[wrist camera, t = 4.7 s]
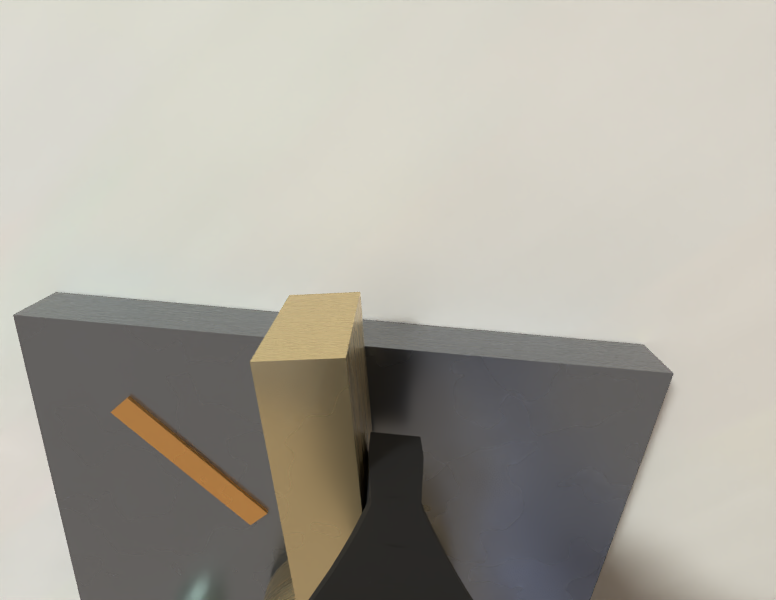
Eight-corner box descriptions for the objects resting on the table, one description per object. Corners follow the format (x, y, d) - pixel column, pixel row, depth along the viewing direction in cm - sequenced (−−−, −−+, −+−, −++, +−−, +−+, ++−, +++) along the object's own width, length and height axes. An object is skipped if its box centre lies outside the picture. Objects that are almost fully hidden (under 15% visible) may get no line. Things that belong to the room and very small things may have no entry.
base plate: (527, 696, 19) (549, 802, 16) (128, 664, 19) (79, 766, 16) (643, 344, 13) (714, 412, 10) (56, 292, 13) (-47, 346, 10)
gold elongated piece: (459, 669, 15) (472, 793, 13) (279, 672, 16) (254, 793, 13) (459, 287, 10) (480, 352, 8) (193, 300, 11) (120, 366, 8)
